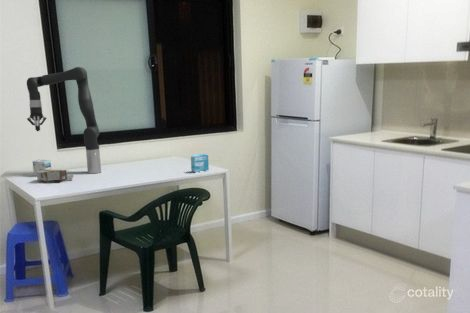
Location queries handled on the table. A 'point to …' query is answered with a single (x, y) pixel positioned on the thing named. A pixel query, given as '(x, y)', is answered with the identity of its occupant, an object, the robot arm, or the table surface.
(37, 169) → the light bulb box
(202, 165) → the data package
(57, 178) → the coffee box
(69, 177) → the mat
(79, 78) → the robot arm
